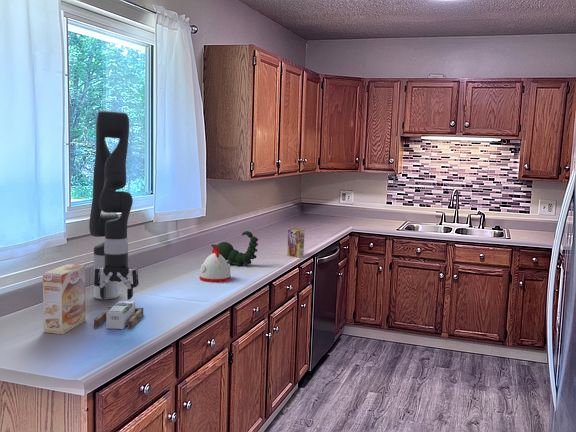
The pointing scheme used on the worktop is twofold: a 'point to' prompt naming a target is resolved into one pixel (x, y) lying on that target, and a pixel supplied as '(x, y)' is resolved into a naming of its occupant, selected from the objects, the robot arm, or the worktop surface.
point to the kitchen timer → (215, 268)
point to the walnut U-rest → (131, 321)
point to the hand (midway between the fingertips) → (116, 298)
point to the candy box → (296, 242)
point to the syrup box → (120, 314)
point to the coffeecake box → (64, 298)
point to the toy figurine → (234, 255)
